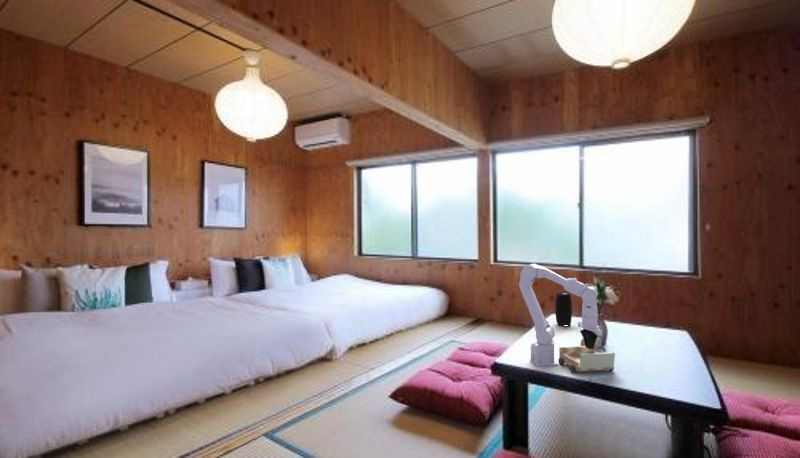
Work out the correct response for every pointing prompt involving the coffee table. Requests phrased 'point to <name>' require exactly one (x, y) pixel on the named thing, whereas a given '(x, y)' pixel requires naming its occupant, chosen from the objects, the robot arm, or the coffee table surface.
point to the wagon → (576, 358)
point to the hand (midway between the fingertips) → (589, 348)
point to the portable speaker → (563, 308)
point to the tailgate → (597, 360)
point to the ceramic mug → (596, 345)
